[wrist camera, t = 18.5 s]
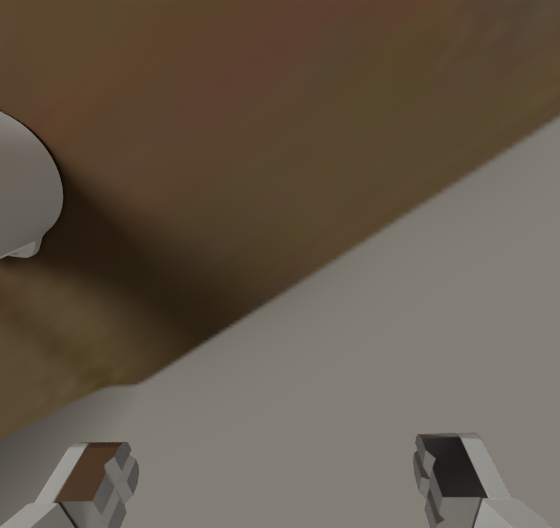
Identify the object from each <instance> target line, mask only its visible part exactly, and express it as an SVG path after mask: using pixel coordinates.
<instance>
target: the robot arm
mask: <svg viewBox="0 0 560 528" xmlns="http://www.w3.org/2000/svg"><path fill="white" fill-rule="evenodd" d="M62 204H63V188H62V183H61V179H60V175H59V172H58V170H57V167H56V165H55V163H54V161H53V159H52V158H51V156H50V154H49V153H48V151H47V150H46V148H45V147H44V146H43V144H42V143H41V142H40V141H39V140H38V139H37V138H36V136H35V135H34V134H33V133H32V132H30V131H29V130H28V129H27V128H26V127H25V126H23V125H22V124H21V123H19V122H18V121H16V120H15V119H13V118H12V117H10V116H8V115H6V114H4V113H2V112H1V111H0V259H1V258H3V257H5V256H15V257H22V258H28V257H31V256H33V255H35V254H37V252H38V251H39V248H40V245H41V241H42V237H43V235H44V234H45V233H46V232H47V231H48V230H49V229H50V228H51V227H52V226H53V225H54V224H55V222H56V221H57V219H58V217H59V215H60V213H61V209H62ZM415 443H416V446H417V449H418V451H416V452H415V453H414V460H413V464H414V473H415V477H416V482H417V486H418V489H419V492H420V493H421V494H422V495H423V496H424V497H425V498H426V499H427V500H426V506H425V512H426V515H427V519H428V522H429V525H430V528H554V527H553V526H552V525H550V524H549V523H548V522H547V521H546V520H544V519H543V518H542V517H541V516H539V515H538V514H537V513H536V512H535V511H534V510H533V509H531V508H530V507H529V506H528V505H527V504H525V503H524V502H523V501H522V500H521V499H519V498H512V496H511V494H510V492H509V490H508V488H507V486H506V484H505V483H504V481H503V479H502V477H501V475H500V473H499V471H498V469H497V468H496V466H495V464H494V462H493V460H492V458H491V456H490V454H489V452H488V450H487V449H486V447H485V445H484V443H483V441H482V439H481V437H480V436H479V435H478V434H477V433H458V434H455V433H440V434H418V435H417V437H416V442H415ZM130 452H131V448H130V446H129V444H128V442H107V443H106V442H102V443H101V442H99V443H98V442H97V443H94V442H91V443H90V442H88V443H87V442H86V443H74V444H73V445H72V446H70V447H69V448H68V450H67V452H66V453H65V455H64V456H63V458H62V459H61V461H60V463H59V464H58V466H57V467H56V469H55V471H54V472H53V474H52V476H51V477H50V479H49V480H48V482H47V483H46V485H45V487H44V488H43V490H42V491H41V493H40V495H39V496H38V498H37V499H36V501H35V502H34V503H29V504H27V505H26V506H25V507H24V508H23V509H22V510H20V511H19V512H18V513H17V514H15V515H14V516H13V517H12V518H11V519H9V520H8V521H7V522H6V523H4V524H3V525H2V526H1V527H0V528H120V527H121V524H122V522H123V519H124V517H125V514H126V509H125V502H127V501H128V500H129V499H130V498H131V497H132V496H133V494H134V491H135V489H136V486H137V482H138V476H139V467H138V463H137V461H136V459H135V458H133V457H132V456H130V455H129V454H130Z"/></svg>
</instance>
